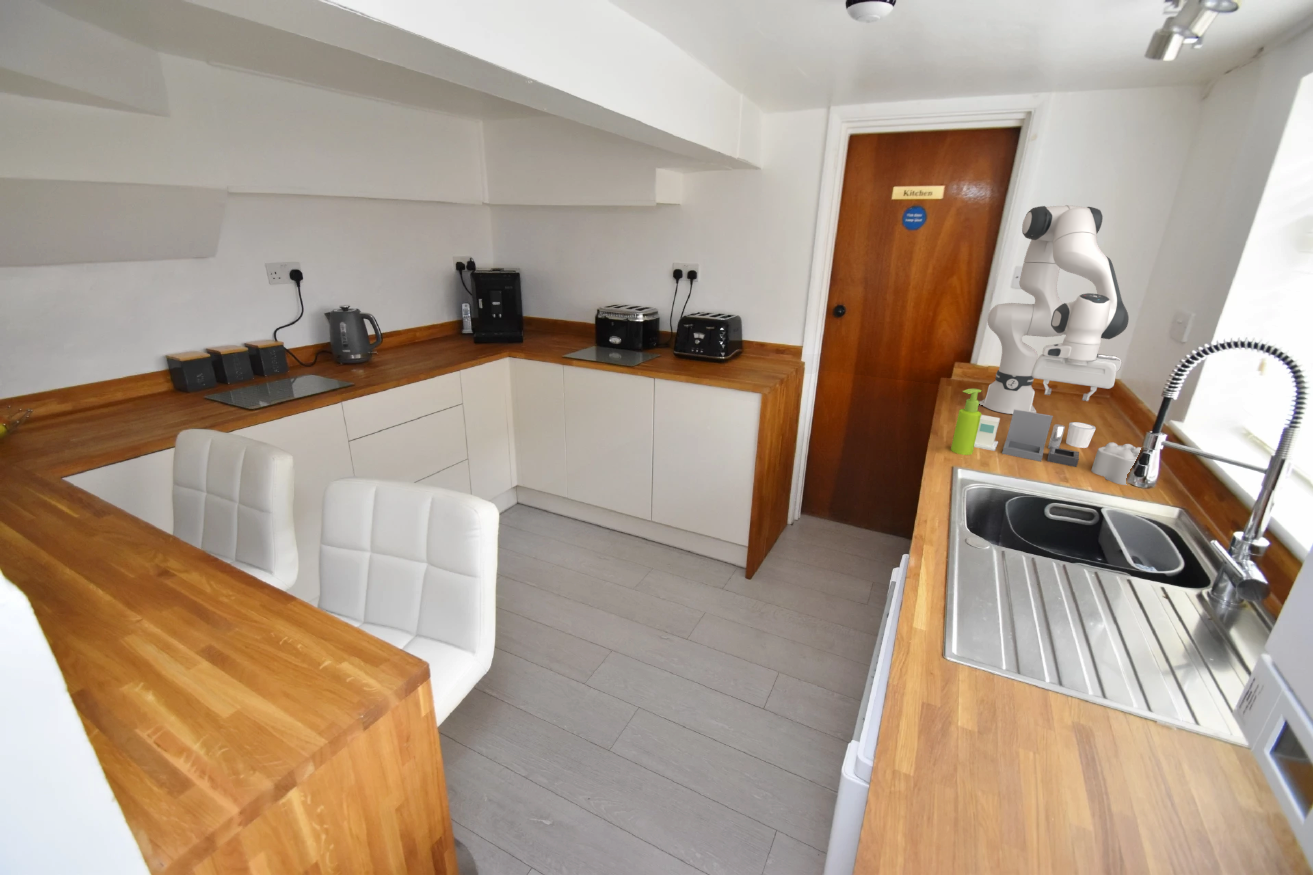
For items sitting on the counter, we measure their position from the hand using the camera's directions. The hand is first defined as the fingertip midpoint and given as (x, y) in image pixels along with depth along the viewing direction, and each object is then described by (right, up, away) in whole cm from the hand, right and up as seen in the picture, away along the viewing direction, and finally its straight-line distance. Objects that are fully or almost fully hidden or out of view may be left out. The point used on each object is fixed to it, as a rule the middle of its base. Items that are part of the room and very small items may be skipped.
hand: (1065, 397), depth 171 cm
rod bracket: (-4, -19, -3) cm, 20 cm away
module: (-20, -14, +7) cm, 25 cm away
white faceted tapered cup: (+10, -15, +10) cm, 20 cm away
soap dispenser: (-31, -17, +2) cm, 35 cm away
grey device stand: (-12, -17, +2) cm, 21 cm away
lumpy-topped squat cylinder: (+7, -23, -11) cm, 26 cm away
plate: (-20, -15, +8) cm, 26 cm away
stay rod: (0, -16, +6) cm, 17 cm away
